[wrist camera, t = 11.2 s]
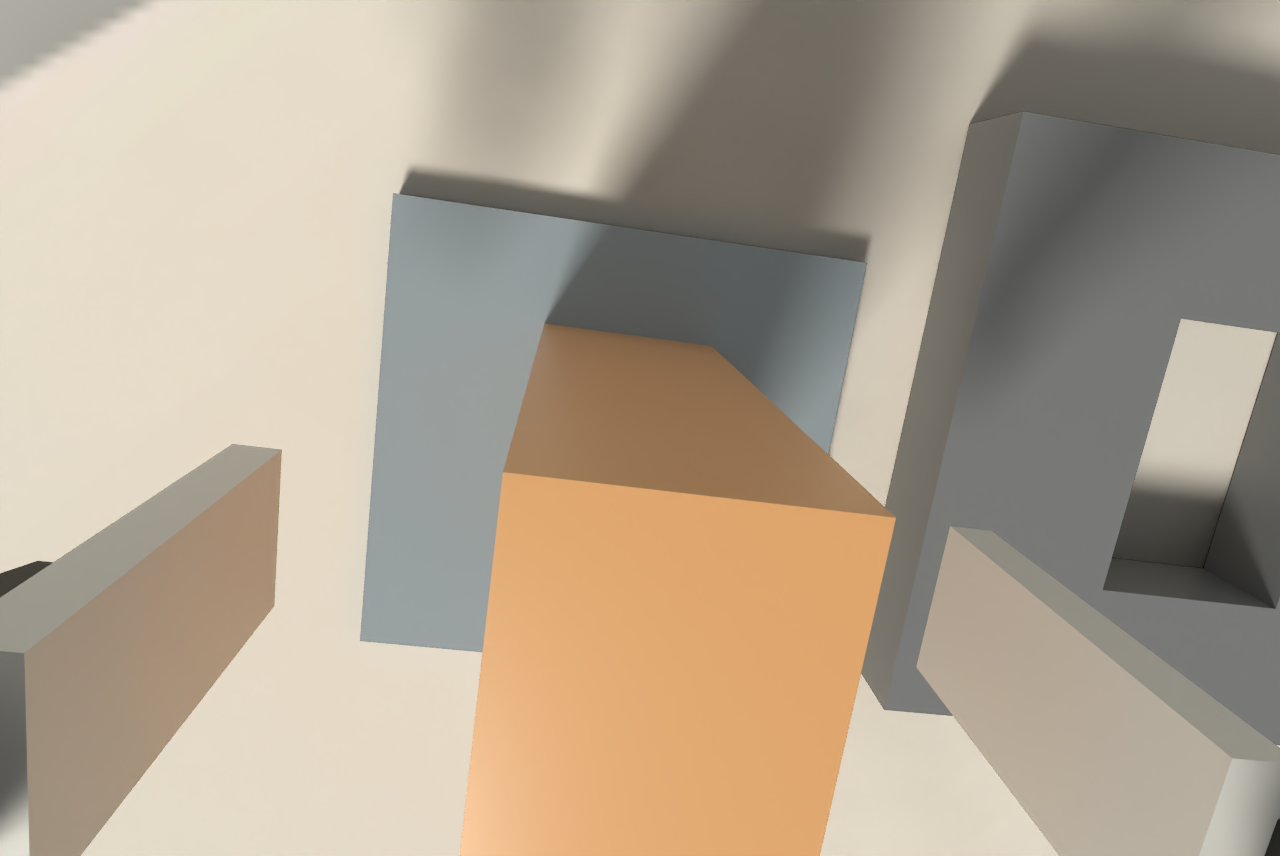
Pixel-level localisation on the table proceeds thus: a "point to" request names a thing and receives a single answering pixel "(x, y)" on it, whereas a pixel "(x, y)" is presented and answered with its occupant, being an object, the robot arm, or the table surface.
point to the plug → (666, 613)
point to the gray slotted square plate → (1089, 393)
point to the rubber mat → (503, 358)
